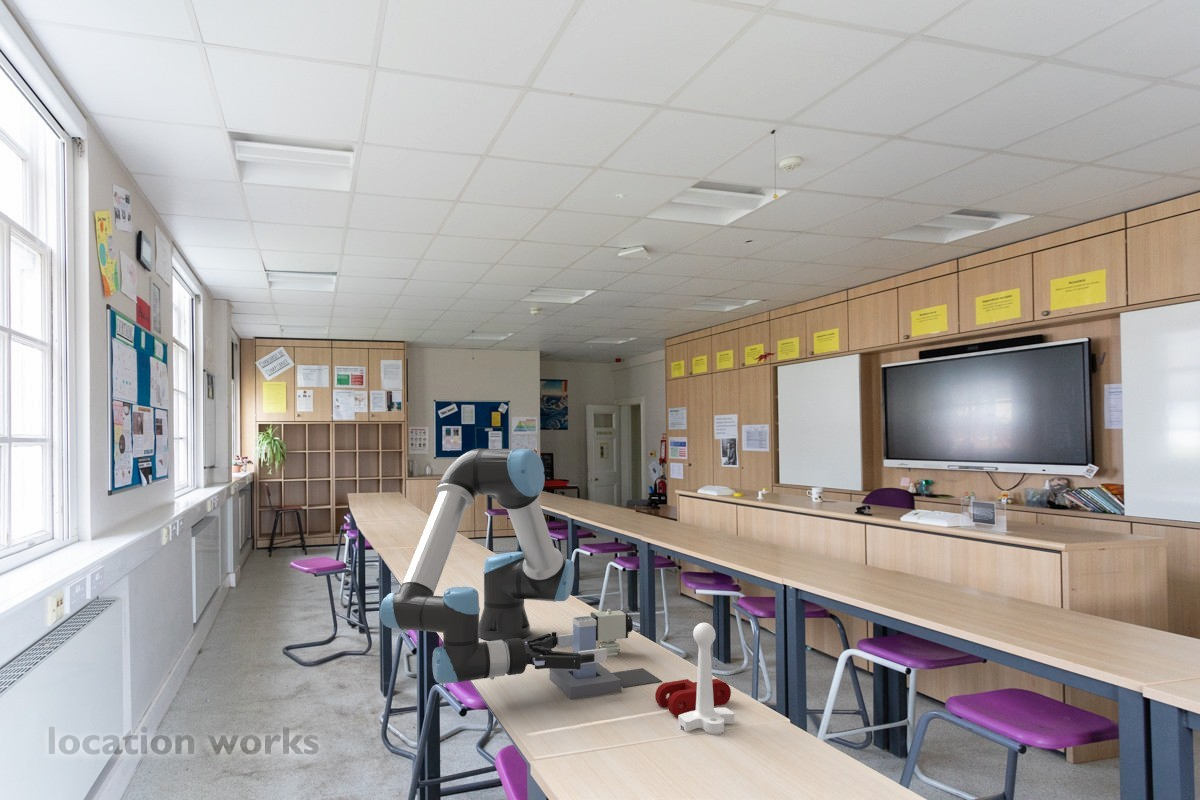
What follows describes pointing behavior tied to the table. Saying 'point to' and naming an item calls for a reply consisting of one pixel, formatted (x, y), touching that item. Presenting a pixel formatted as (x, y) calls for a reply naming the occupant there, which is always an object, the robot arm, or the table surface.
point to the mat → (636, 677)
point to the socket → (585, 683)
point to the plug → (584, 644)
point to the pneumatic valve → (612, 629)
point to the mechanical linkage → (688, 695)
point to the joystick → (705, 689)
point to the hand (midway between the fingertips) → (594, 646)
